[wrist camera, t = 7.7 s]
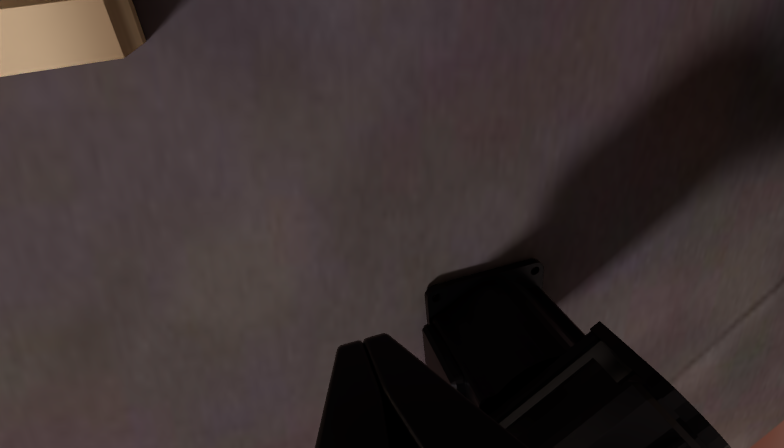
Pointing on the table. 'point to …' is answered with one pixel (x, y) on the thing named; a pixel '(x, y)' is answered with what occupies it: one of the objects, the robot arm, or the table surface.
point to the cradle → (65, 33)
